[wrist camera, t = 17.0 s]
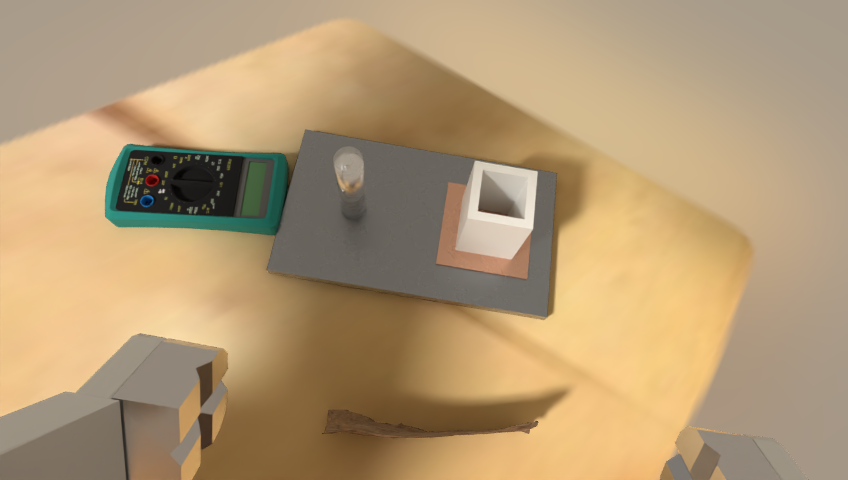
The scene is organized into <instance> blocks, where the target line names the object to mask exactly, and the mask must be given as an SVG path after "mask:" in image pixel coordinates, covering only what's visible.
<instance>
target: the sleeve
mask: <svg viewBox="0 0 848 480" xmlns="http://www.w3.org/2000/svg"><path fill="white" fill-rule="evenodd" d="M537 174H538V171H532V170H526V169H521V168H515V167H509V166H503V165H498V164H492V163H486V162H480V161H475V162H474V165H473V168H472V171H471V174H470V177H469V180H468V183H467V186H466V189H465V192H464V195H463V198H462V204H461V211H460V219H459V226H458V233H457V240H456V247H455V250H458V251H464V252H470V253H475V254H481V255H487V256H493V257H499V258H505V259H511V260H512V258H513V257H514V255H515V254H516V253H517V251H518V250H519V248H520V247H521V245H522V244H523V243H524V241H525V240H526V238H527V237H528V236H529V234H530V233H531V231H532V230H533V223H534V210H535V198H536V186H537ZM478 209H482V210H487V211H493V212H499V213H505V214H508V216H502V215H496V214H490V213H485V212H479V211H478Z"/></svg>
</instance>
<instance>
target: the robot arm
mask: <svg viewBox="0 0 848 480" xmlns="http://www.w3.org/2000/svg"><path fill="white" fill-rule="evenodd" d="M227 369H228V353H227V352H226V351H225V349H222V348H217V347H212V346H207V345H201V344H196V343H191V342H185V341H180V340H175V339H170V338H169V339H166V338H163V337H157V336H151V335H146V334H137V335H134V336H132V337H131V338H130V339H129V340H128V341H127V342H126V343H125V344H124V345H123V346H122V347H121V348H120V349H119V350H118V351H117V352H116V353H115V354H114V355H113V356H112V357H111V358H110V359H109V360H108V361H107V362H106V363H105V364H104V365H103V366H102V367H101V368H100V369H99V370H98V371H97V372H96V373H95V374H94V375H93V376H92V377H91V378H90V379H89V380H88V381H87V382H86V383H85V384H84V385H83V386H82V387H81V388H80V389H79V390H78V391H77V392H76V393H71V392H63V393H61V394H58V395H56V396H53V397H51V398H48V399H46V400H43V401H40V402H38V403H35V404H33V405H30V406H28V407H25V408H23V409H20V410H17V411H15V412H12V413H10V414H7V415H5V416H2V417H0V480H192V479H193V477H194V475H195V473H196V472H197V470H198V468H199V466H200V465H201V450H202V449H204V448H206V447H208V446H209V445H211V444H212V443H213V441H214V440H215V438H216V436H217V434H218V432H219V430H220V427H221V424H222V421H223V418H224V415H225V411H226V405H227V392H228V389H227V388H226V386H225V385H224V384H223V382H222V381H221V379H222V377H223V376H224V374H225V373H226V371H227ZM675 444H676V447H677V449H678V452H679V454H678V455H676V456H674V457H673V458H671V459H670V460H668V461H666V463H665V466H664V468H663V471H662V473H661V475H660V480H809V479H808V478H807V477H806V475H805V474H804V473H803V471H802V470H801V469H800V468H799V466H798V465H797V464H796V462H795V461H794V460H793V458H792V457H791V456H790V454H789V453H788V452H787V451H786V449H785V448H784V447H783V445H782V444H780V443H779V442H777V441H776V440H774V439H772V438H766V437H758V436H751V435H738V434H733V433H726V432H720V431H714V430H707V429H701V428H695V427H689V426H687V427H685V428H684V429H683V430H682V431H681V432H680V434H679V436H678V438H677V440H676V442H675Z"/></svg>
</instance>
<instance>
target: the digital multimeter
mask: <svg viewBox="0 0 848 480" xmlns="http://www.w3.org/2000/svg"><path fill="white" fill-rule="evenodd" d="M201 164H202V165H201ZM288 170H289V167H288V163H287V160H286V157H285V155H284V154H281V153H235V152H214V151H196V150H184V149H173V148H162V147H153V146H144V145H135V144H127V145H126V146H124V148H123V149H122V151H121V153H120V155H119V156H118V158H117V160H116V162H115V164H114V166H113V168H112V170H111V172H110V175H109V179H108V182H107V186H106V195H105V217H106V218H107V219H108V220H110V221H111V222H112V223H113V224H114V225H116V226H117V227H164V228H195V229H210V230H225V231H236V232H247V233H257V234H267V235H276V234H277V230H278V227H279V223H280V220H281V216H282V212H283V209H284V205H285V202H286V198H287V189H288ZM122 180H123V181H122ZM215 180H216V181H215ZM121 183H122V184H121ZM120 187H121V188H120ZM169 189H170V190H169ZM119 191H120V192H119ZM176 199H177V200H176ZM132 211H133V212H132ZM168 213H170V214H168ZM187 214H189V215H187ZM205 215H207V216H205ZM224 216H226V217H224Z"/></svg>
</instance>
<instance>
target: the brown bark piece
mask: <svg viewBox="0 0 848 480" xmlns="http://www.w3.org/2000/svg"><path fill="white" fill-rule="evenodd" d="M537 425H538V421H535V422H532V423H529V422H528V423H527V424H521V425H517V426H516V425H514V426H512V427H508V428H504V429H494V430H483V431H459V430H457V431H442V432H433V431H432V432H427V431H424V430H420V429H419V428H418V429H417V428H413V427H409V426H403V425H402V423H401V424H398V425H392V424H387V423H385V424H384V423H377V422H375V421H373V420H372V419H371V418H368V417H366V416H363V415H360V414H356V413H353V412H350V411H348V410H329V413H328V421H327V426H326V428H325V432H324V433H322V434H330V433H337V432H347V433H353V434H362V435H372V436H379V437H391V438H422V437H442V436H453V435H474V434H490V433H500V432H515V431H522V432H525V433H528V434H529V432H530V429H531V428H533V427H536V426H537Z"/></svg>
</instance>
